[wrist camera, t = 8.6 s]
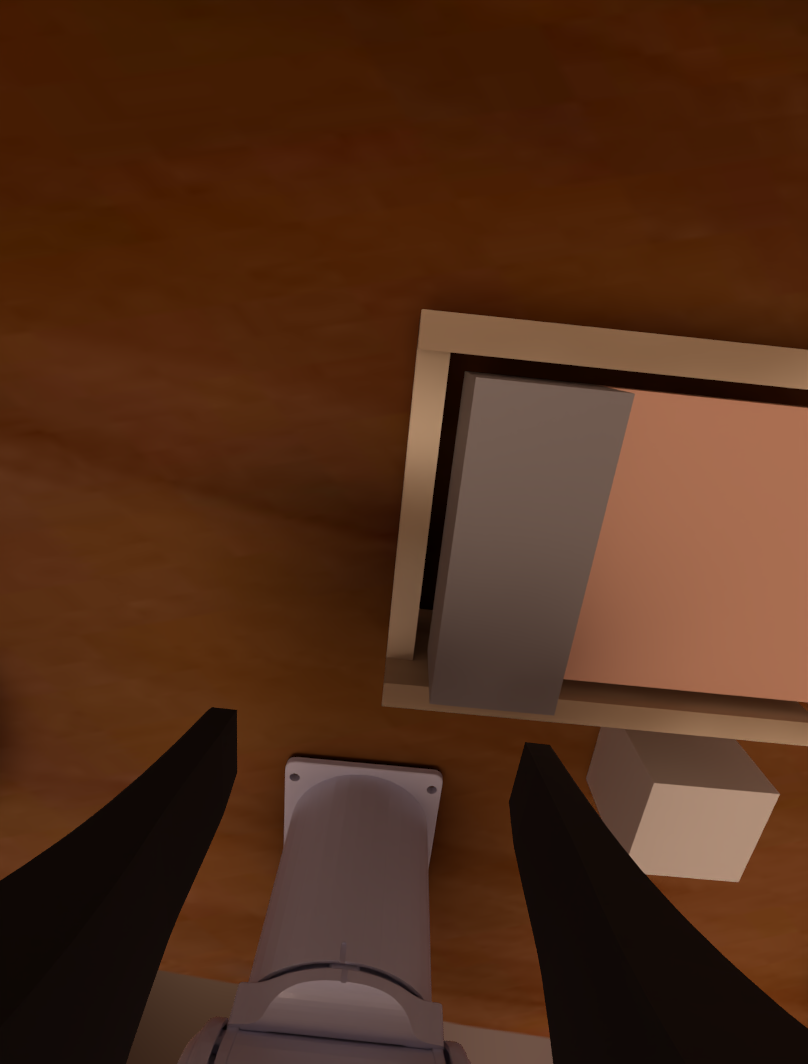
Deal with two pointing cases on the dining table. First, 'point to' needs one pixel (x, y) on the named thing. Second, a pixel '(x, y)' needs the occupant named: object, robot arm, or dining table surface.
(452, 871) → the dining table surface
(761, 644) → the trapdoor
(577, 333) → the frame
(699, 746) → the beige cube
